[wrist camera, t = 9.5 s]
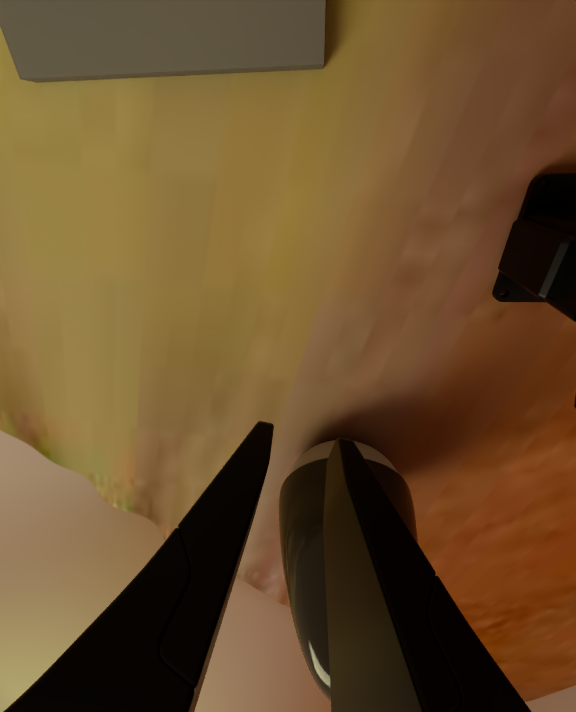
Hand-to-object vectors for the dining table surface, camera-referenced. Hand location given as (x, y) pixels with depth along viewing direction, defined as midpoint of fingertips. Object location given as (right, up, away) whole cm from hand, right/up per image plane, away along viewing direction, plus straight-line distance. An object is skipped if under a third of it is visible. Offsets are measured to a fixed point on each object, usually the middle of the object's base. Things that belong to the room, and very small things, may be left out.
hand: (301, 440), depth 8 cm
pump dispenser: (+4, -7, +20) cm, 22 cm away
